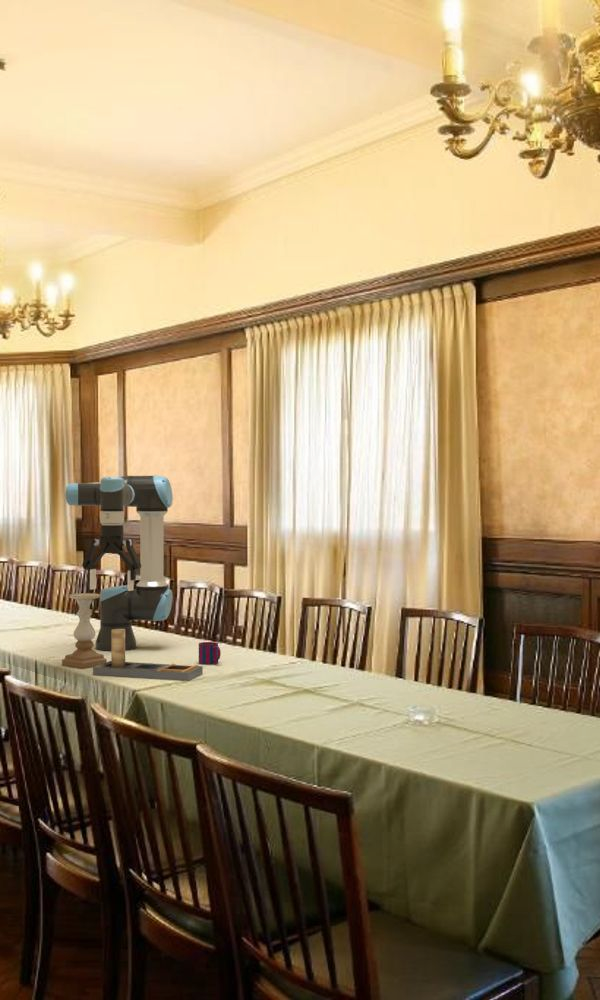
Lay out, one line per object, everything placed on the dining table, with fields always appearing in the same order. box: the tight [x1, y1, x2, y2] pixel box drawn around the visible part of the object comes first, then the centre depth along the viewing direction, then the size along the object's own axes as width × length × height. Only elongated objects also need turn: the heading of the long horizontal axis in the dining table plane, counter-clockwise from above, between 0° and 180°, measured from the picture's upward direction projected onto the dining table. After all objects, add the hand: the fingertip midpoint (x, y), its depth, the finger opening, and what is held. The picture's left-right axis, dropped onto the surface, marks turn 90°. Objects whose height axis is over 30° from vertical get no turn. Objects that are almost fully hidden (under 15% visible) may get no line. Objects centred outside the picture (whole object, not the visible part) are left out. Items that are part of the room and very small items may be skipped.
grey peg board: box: [92, 660, 204, 682], centre depth 326 cm, size 12×33×3 cm, turn 74°
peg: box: [110, 629, 126, 667], centre depth 328 cm, size 4×4×14 cm
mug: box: [198, 641, 222, 666], centre depth 346 cm, size 7×10×7 cm
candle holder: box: [61, 592, 108, 669], centre depth 343 cm, size 11×11×24 cm
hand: (111, 589), depth 328 cm, fingers open, 13 cm apart
